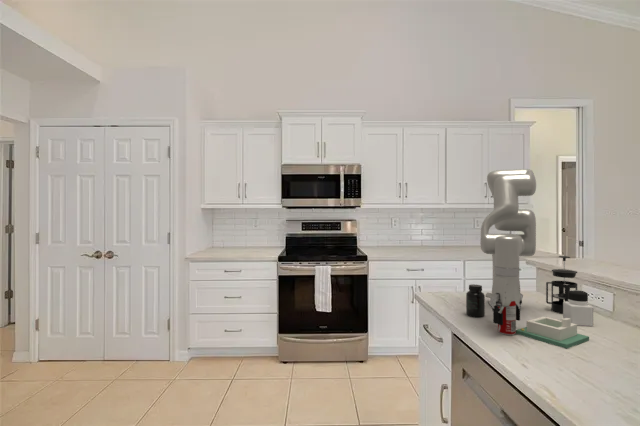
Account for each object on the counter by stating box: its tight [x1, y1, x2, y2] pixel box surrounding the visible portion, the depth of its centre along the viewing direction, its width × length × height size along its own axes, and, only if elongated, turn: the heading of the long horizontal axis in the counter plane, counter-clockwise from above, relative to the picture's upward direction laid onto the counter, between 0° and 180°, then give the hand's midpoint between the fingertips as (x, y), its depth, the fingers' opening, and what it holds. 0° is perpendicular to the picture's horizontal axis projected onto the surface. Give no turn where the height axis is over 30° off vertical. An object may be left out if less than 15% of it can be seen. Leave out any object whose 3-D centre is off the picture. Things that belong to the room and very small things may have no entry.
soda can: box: [497, 300, 517, 336], centre depth 126 cm, size 6×6×12 cm
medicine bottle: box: [562, 289, 594, 327], centre depth 137 cm, size 7×7×12 cm
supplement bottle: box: [465, 283, 486, 319], centre depth 147 cm, size 7×7×12 cm
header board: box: [515, 316, 590, 349], centre depth 122 cm, size 16×14×7 cm
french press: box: [545, 255, 578, 315], centre depth 152 cm, size 12×9×23 cm
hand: (506, 321), depth 126 cm, fingers open, 9 cm apart
